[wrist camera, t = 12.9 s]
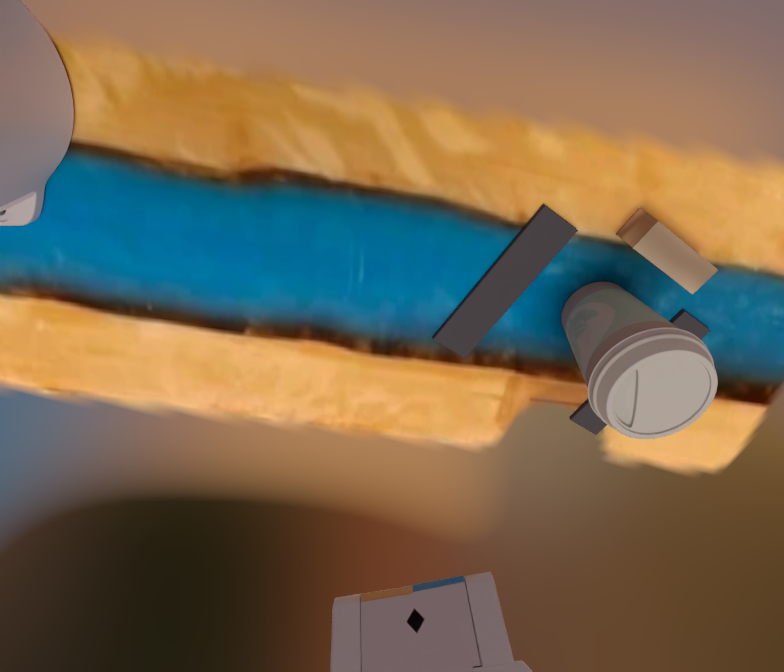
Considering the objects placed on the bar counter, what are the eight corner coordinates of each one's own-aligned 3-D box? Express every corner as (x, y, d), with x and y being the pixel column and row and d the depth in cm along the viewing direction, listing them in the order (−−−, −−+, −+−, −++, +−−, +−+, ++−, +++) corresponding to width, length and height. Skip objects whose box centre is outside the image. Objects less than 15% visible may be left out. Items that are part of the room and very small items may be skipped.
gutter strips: (594, 432, 54) (595, 434, 54) (432, 337, 48) (433, 339, 47) (707, 328, 49) (710, 330, 49) (543, 204, 42) (545, 205, 42)
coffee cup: (580, 250, 44) (649, 325, 34) (665, 287, 47) (754, 367, 36) (526, 336, 48) (573, 426, 38) (606, 365, 50) (671, 458, 40)
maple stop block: (673, 278, 46) (692, 294, 44) (616, 233, 44) (632, 248, 41) (697, 254, 45) (718, 269, 43) (640, 207, 43) (658, 220, 40)
